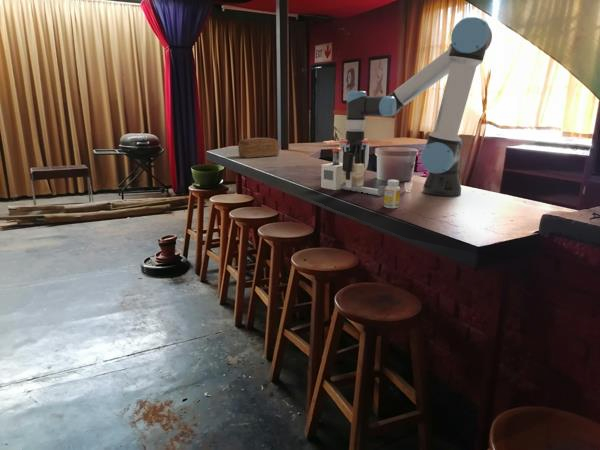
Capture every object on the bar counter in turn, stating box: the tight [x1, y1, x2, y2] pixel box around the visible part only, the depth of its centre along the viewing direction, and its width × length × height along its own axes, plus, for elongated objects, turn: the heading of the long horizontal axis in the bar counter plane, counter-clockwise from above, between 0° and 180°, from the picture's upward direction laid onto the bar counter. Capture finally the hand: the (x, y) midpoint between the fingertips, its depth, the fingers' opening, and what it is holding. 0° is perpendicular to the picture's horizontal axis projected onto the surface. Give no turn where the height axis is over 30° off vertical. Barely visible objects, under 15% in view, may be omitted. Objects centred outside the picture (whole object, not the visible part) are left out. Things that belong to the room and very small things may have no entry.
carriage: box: [343, 163, 365, 187], centre depth 182 cm, size 7×5×9 cm
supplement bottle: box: [383, 179, 401, 209], centre depth 155 cm, size 5×5×10 cm
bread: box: [237, 137, 280, 159], centre depth 289 cm, size 14×28×12 cm, turn 126°
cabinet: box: [320, 162, 343, 191], centre depth 189 cm, size 8×10×10 cm
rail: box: [340, 184, 386, 197], centre depth 180 cm, size 20×4×4 cm, turn 47°
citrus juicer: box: [338, 139, 371, 175], centre depth 219 cm, size 16×17×20 cm
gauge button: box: [331, 147, 341, 165], centre depth 186 cm, size 4×4×7 cm
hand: (353, 186), depth 183 cm, fingers closed on carriage, 5 cm apart
